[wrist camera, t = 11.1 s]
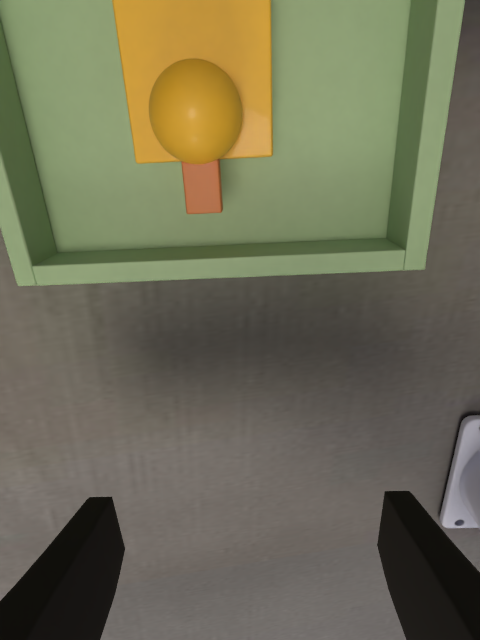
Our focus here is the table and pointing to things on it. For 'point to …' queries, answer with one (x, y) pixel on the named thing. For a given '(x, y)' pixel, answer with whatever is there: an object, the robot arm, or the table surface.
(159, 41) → the toy duck
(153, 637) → the table surface
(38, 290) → the table surface
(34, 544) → the table surface
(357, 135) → the tray
